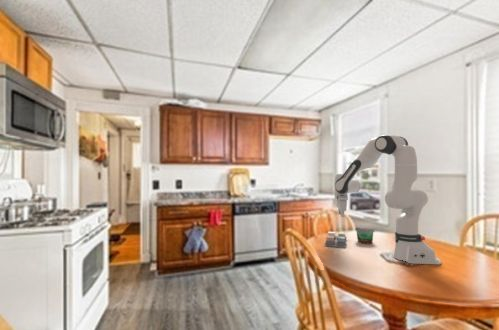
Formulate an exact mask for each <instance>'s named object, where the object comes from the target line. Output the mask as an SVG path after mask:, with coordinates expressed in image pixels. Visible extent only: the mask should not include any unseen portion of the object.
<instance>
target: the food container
mask: <svg viewBox="0 0 499 330" xmlns="http://www.w3.org/2000/svg"><path fill="white" fill-rule="evenodd" d="M355 232H356V238H357V242H358V243H361V244H364V245H365V244H367V245H370V244H373V237H374V233H375V229H374V227H373V228H365V227H362V228H360V227H355Z"/></svg>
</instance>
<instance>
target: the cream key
mask: <svg viewBox="0 0 499 330" xmlns="http://www.w3.org/2000/svg"><path fill="white" fill-rule="evenodd" d="M327 235H328V236H334V237H335V236H336V232H335V231H328V232H327Z"/></svg>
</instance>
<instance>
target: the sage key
mask: <svg viewBox="0 0 499 330" xmlns="http://www.w3.org/2000/svg"><path fill="white" fill-rule="evenodd" d="M337 236H338V237H345V236H346V233H345V232H341V231H339V232H338V235H337Z"/></svg>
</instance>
